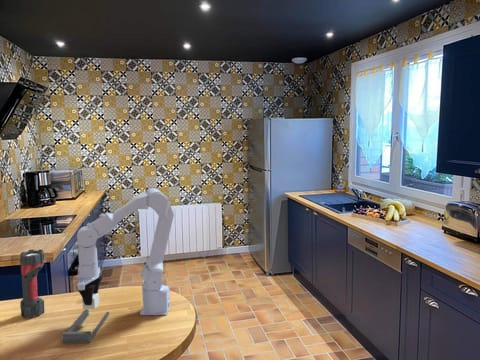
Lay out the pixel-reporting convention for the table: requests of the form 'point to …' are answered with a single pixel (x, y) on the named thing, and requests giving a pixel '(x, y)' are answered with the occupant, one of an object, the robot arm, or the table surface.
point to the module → (94, 302)
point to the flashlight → (31, 283)
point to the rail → (81, 336)
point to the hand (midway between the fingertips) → (90, 301)
